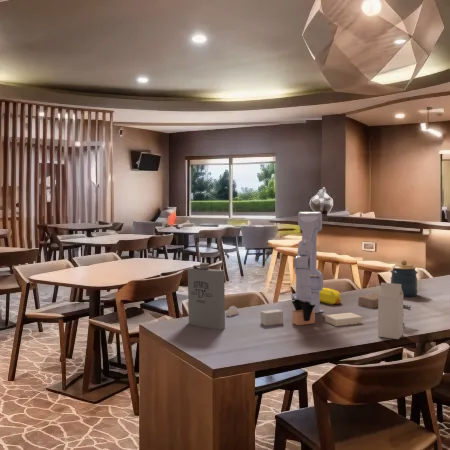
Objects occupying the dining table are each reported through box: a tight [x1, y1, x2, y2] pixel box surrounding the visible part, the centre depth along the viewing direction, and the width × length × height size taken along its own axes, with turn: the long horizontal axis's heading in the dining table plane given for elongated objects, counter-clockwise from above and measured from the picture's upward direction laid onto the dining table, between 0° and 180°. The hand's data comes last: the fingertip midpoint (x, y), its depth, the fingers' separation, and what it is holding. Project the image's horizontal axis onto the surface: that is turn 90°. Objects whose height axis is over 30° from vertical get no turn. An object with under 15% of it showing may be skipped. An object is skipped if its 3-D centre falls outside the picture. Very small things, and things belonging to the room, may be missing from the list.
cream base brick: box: [324, 312, 363, 327], centre depth 200 cm, size 8×12×3 cm, turn 110°
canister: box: [390, 260, 418, 298], centre depth 255 cm, size 13×13×18 cm
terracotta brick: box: [291, 309, 316, 326], centre depth 199 cm, size 4×8×5 cm, turn 113°
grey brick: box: [260, 308, 284, 327], centre depth 200 cm, size 4×8×5 cm, turn 115°
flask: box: [187, 262, 226, 330], centre depth 197 cm, size 17×5×25 cm, turn 52°
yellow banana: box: [320, 287, 342, 306], centre depth 240 cm, size 18×7×8 cm
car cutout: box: [225, 305, 240, 318], centre depth 213 cm, size 15×7×4 cm, turn 129°
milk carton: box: [377, 282, 404, 340], centre depth 179 cm, size 7×7×19 cm
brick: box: [357, 292, 379, 309], centre depth 234 cm, size 16×8×5 cm, turn 126°
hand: (303, 319), depth 199 cm, fingers closed on terracotta brick, 4 cm apart
